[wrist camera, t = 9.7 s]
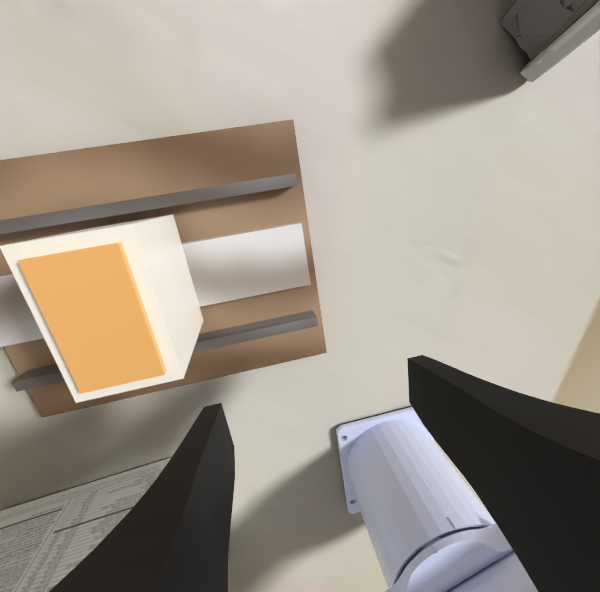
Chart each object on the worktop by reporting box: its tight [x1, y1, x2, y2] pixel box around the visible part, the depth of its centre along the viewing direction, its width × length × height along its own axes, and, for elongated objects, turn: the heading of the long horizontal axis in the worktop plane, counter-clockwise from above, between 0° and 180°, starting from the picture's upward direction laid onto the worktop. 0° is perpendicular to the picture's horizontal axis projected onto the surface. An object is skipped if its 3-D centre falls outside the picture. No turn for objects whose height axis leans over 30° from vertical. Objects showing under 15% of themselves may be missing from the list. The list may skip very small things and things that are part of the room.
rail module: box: [0, 215, 203, 403], centre depth 13 cm, size 6×4×6 cm, turn 9°
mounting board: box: [0, 120, 327, 417], centre depth 17 cm, size 14×18×2 cm
